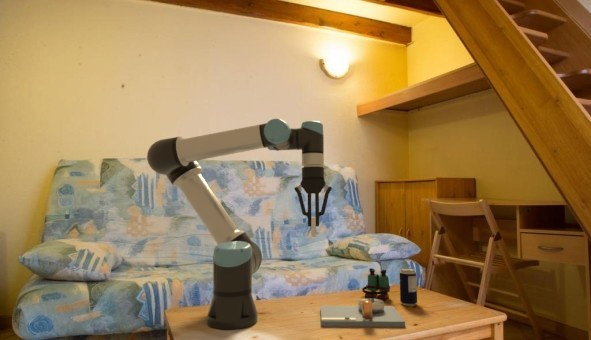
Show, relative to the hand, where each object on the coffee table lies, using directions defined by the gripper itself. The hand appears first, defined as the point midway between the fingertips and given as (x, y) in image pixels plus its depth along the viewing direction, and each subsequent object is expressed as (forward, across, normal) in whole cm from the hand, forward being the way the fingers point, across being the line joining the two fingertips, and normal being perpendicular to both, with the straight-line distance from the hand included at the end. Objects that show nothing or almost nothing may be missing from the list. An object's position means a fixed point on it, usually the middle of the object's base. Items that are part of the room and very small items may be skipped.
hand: (313, 236), depth 129 cm
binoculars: (+25, -23, -15) cm, 37 cm away
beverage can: (+25, -33, -8) cm, 42 cm away
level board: (+24, -14, +8) cm, 29 cm away
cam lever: (+23, -17, +9) cm, 30 cm away
